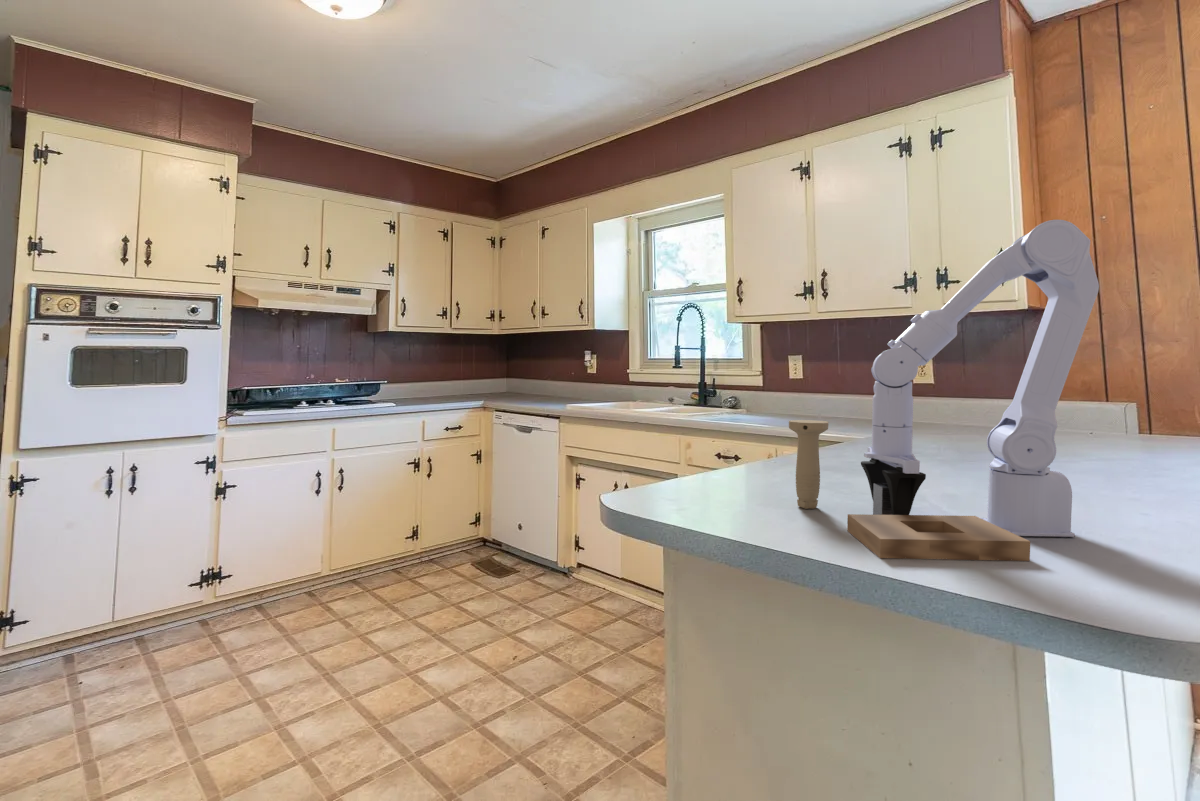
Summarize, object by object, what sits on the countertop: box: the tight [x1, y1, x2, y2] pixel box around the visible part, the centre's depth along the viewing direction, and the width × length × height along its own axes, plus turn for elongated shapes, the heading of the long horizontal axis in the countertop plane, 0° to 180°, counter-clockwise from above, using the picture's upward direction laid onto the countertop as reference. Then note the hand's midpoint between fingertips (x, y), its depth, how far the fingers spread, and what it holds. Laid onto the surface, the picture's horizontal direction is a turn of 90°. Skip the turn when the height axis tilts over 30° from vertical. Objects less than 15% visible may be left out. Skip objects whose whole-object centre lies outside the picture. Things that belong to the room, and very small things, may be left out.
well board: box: [846, 513, 1031, 562], centre depth 77 cm, size 18×12×2 cm, turn 85°
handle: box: [788, 419, 829, 510], centre depth 98 cm, size 5×6×15 cm
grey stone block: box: [872, 483, 893, 515], centre depth 90 cm, size 4×4×6 cm
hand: (890, 510), depth 90 cm, fingers open, 7 cm apart
